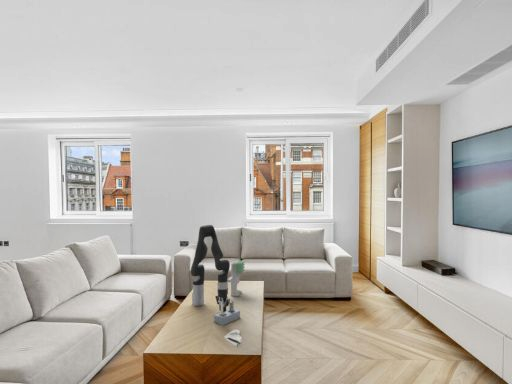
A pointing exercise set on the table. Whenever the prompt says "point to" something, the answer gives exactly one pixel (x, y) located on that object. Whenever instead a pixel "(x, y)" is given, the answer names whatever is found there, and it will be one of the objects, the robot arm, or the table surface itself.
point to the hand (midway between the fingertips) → (222, 311)
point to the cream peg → (222, 310)
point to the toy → (235, 277)
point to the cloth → (234, 337)
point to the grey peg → (231, 306)
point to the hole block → (226, 317)
